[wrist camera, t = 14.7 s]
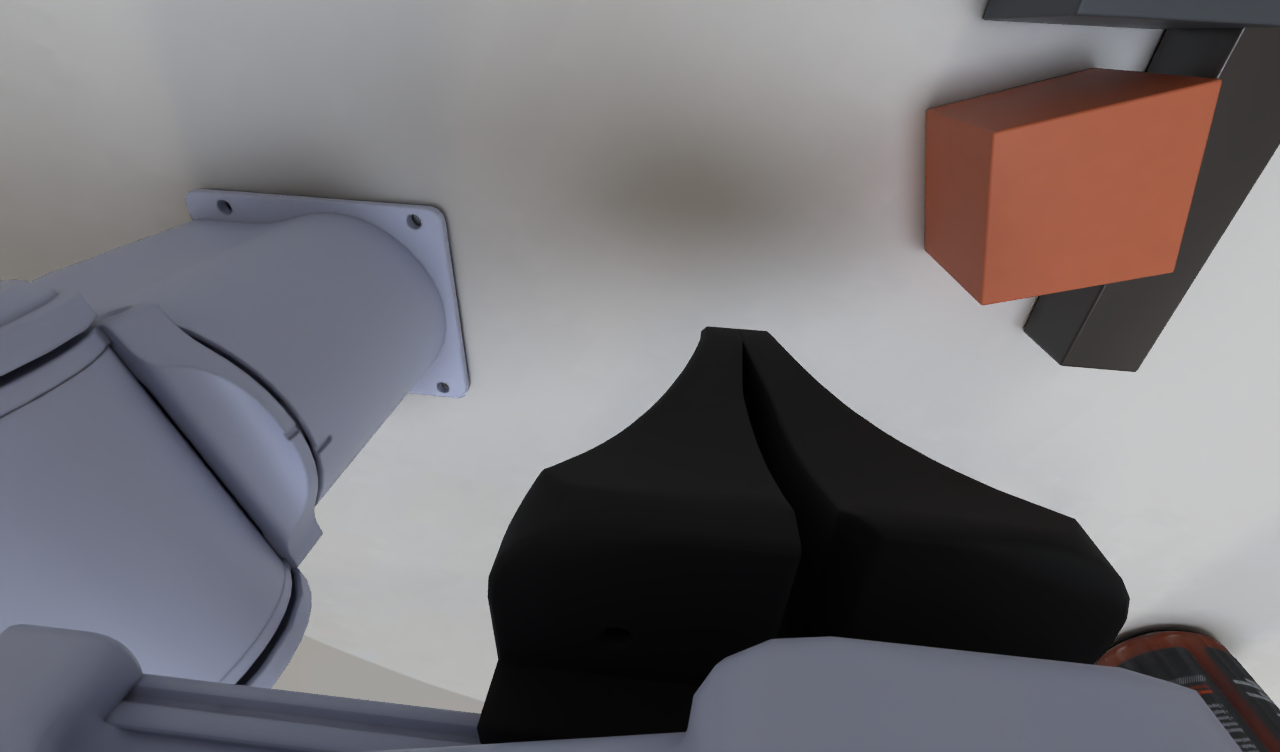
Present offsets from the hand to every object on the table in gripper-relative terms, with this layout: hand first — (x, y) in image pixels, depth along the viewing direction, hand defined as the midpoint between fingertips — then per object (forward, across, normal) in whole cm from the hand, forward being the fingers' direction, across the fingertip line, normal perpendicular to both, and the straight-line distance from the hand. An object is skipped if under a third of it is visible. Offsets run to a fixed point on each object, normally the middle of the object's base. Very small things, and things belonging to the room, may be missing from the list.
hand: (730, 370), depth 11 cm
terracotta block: (+9, -8, -3) cm, 13 cm away
